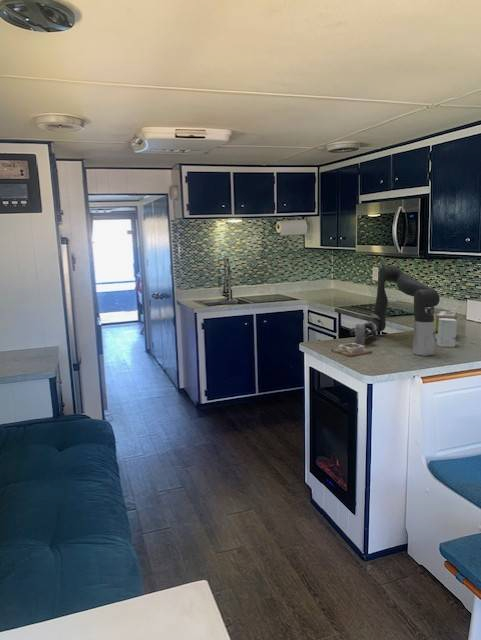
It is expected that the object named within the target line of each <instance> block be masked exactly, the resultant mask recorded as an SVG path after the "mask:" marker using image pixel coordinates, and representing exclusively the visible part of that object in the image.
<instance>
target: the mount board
mask: <svg viewBox="0 0 481 640" xmlns="http://www.w3.org/2000/svg"><path fill="white" fill-rule="evenodd" d="M330 351H331V352H333V353H337V354H339V355H342V356H345V357H348V358H351V357H353V358H354V357H358V356H363V355H369V354H373V350H369V349H366V345H365V346H363V345H359V344H356V343H355V342H348V343H343V344H338V347H337V348H336V347H335V348H330Z"/></svg>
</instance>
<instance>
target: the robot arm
mask: <svg viewBox="0 0 481 640" xmlns="http://www.w3.org/2000/svg"><path fill="white" fill-rule="evenodd" d="M386 282H390V283H391V282H392V283H396V287H397V288H398V290H399V291H400V292H402V293H403V294H405V295H406V296H410V297H413V317H414V320H413V321H414V322H413V323H414V324H413V325H414V327H413V342H412V343H413V347H412V353H413V354H414V355H417V356H422V357H423V356H424V357H428V356H432V355H433V356H434V354H435V340H436V339H435V336H434V330H435V329H434V328H435V315H434V316H433V315H431V314H428V313H426V312H425V308H426V307H434V308H435V307H437V306H438V305H439V303H440V301H441V298H440V295H439V292H438V291H437V290H435V289H434V288H432V287H429V286H428V285H425V284H423V283H421V282H420V281H418V280H417V279H415V278H414V277H412V276H410V275H408V274H407V273H405V272H404V271H403V270H402V269H401V268H399V267H398V266H395V265H386V264H384V265H382V266H381V267H380V268H379V272H378V278H377V291H376V299H375V304H374V308H373V313H374V315H376V316H378V317H379V318H378V317H374V316H373V317H370V318H369V319H368V321H366V322H365V323H363V325H365V338H369V337H376V336H377V335H378V332H383V331H384V330H385V329H386V327H387V323H386V322H387V321H386V313H387V307H388V304H389V300H388V296H387V293H386V289H385V285H386V284H385V283H386ZM355 332H356V327H353V328H350V329H349V334H350V336H354V335H355Z"/></svg>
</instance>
